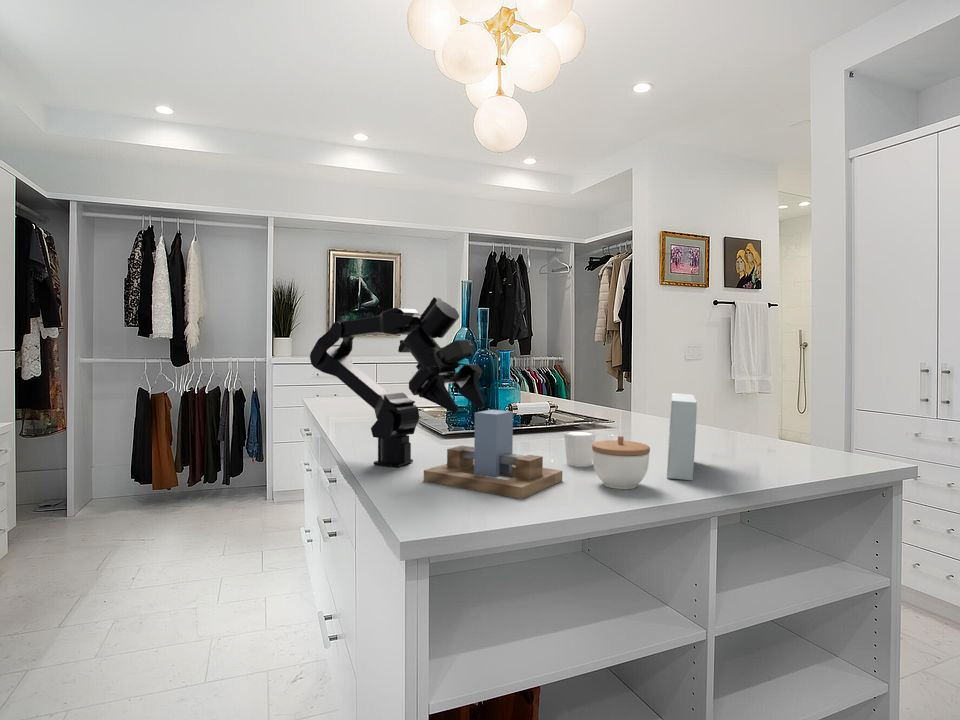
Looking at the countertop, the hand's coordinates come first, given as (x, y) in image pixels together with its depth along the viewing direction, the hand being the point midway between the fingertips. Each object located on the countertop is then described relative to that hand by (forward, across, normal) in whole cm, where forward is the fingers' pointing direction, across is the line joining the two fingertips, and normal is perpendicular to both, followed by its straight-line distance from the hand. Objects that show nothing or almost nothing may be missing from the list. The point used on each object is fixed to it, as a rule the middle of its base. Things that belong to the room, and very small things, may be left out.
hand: (470, 409), depth 113 cm
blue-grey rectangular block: (+13, 0, +4) cm, 13 cm away
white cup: (+19, +24, +1) cm, 31 cm away
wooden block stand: (+14, 0, +6) cm, 15 cm away
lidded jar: (+29, +12, -9) cm, 33 cm away
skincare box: (+33, +33, -13) cm, 48 cm away
